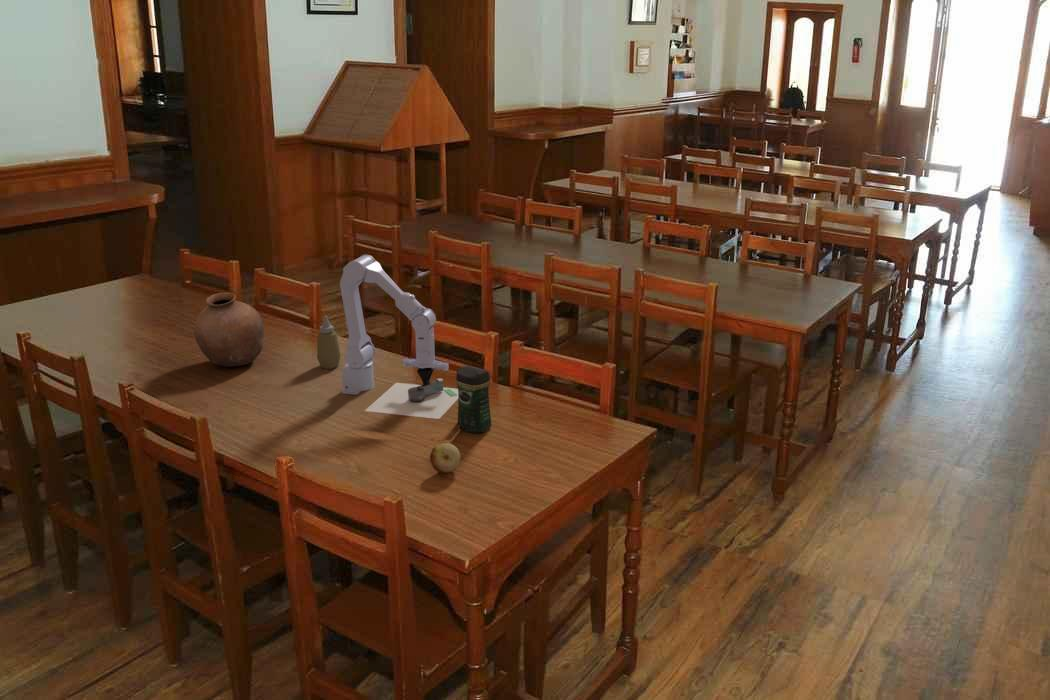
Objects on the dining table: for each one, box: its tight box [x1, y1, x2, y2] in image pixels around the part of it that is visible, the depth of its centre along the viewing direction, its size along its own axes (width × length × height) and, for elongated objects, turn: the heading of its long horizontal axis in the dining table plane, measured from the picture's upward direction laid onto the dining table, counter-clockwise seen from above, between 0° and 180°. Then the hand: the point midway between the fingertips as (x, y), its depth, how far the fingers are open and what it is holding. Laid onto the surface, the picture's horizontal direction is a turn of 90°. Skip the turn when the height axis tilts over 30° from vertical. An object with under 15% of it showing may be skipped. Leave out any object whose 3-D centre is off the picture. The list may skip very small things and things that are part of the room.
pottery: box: [193, 292, 265, 368], centre depth 327 cm, size 23×23×25 cm
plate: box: [364, 382, 458, 420], centre depth 294 cm, size 24×24×2 cm
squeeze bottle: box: [316, 315, 342, 370], centre depth 324 cm, size 8×8×18 cm
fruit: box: [429, 442, 461, 474], centre depth 250 cm, size 8×8×8 cm
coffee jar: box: [455, 364, 492, 434], centre depth 275 cm, size 10×8×19 cm
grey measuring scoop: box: [408, 377, 444, 402], centre depth 296 cm, size 12×5×4 cm, turn 133°
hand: (426, 389), depth 299 cm, fingers closed, pressing on grey measuring scoop
